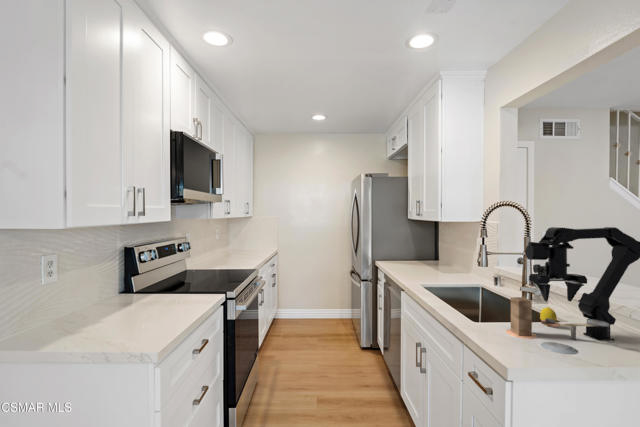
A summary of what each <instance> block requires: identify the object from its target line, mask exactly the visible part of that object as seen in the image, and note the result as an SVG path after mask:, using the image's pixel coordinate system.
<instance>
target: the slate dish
mask: <svg viewBox="0 0 640 427" xmlns="http://www.w3.org/2000/svg"><path fill="white" fill-rule="evenodd" d="M540 346H541V347H542V348H543V349H545V350H547V351H550V352H554V353H557V354H561V355H562V354H563V355H577V354H579V350H578V349H576V347H573V346H571V345H568V344H563V343H561V342H553V341H551V342H550V341H543V342H541V343H540Z"/></svg>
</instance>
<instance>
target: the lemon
mask: <svg viewBox="0 0 640 427" xmlns="http://www.w3.org/2000/svg"><path fill="white" fill-rule="evenodd" d="M539 318H540V320H545V319H547V318H548V319H554V320H555V322H557V314H556V312H555V310H554V309H553V308H551V307H550V306H547V307H544V308H542V309H541V310H540V313H539ZM547 327H548V328H549V327H550V326H547Z"/></svg>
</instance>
